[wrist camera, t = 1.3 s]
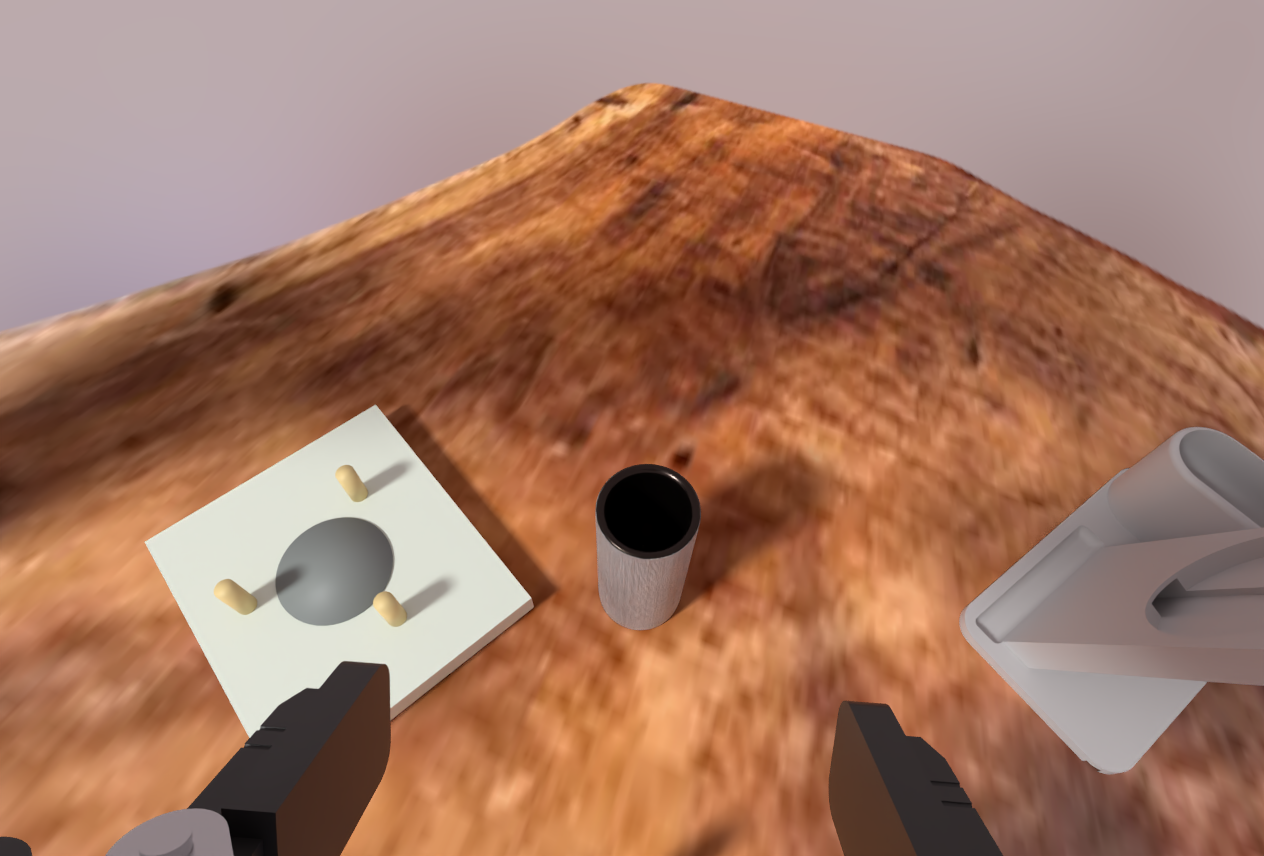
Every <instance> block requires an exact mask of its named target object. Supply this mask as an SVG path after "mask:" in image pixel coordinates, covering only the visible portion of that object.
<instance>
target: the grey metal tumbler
mask: <svg viewBox="0 0 1264 856" xmlns="http://www.w3.org/2000/svg"><path fill="white" fill-rule="evenodd" d="M700 519H701V507H700V502H699V499H698V496H697V494H696V492H695V490H694V489H693V487H692V486H691V484H690V483H689V482H688V481H687V480H686V479H685V478H684V477H683V476H681V475H680V474H679V473H677V472H675V471H673V470H671V469H669V468H667V467H664V466H660V465H654V464H640V465H634V466H631V467H627V468H625V469H623V470H621V471H619V472H617V473H616V474H615V475H613V476H612V477H611V478H610V479H609V480H608V481H607V482H606V483H605V484H604V486H603V487H602V489H601V491H600V493H599V495H598V498H597V502H596V538H597V563H598V587H599V595H600V600H601V603H602V606H603V608H604V610H605V611H606V613H607V614H608V615H609V616H610V618H611V619H612V620H614V621H615V622H616V623H618V624H619V625H621V626H623V627H626V628H629V629H633V630H648V629H652V628H655V627H657V626H659V625H661V624H663V623H664V622H666V621H667V620H668V619H669V618H670V617H671V616H672V614H673V613H674V612H675V610H676V608H677V606H678V604H679V601H680V598H681V594H682V590H683V586H684V583H685V579H686V575H687V571H688V567H689V563H690V560H691V556H692V552H693V548H694V544H695V540H696V537H697V533H698V529H699V525H700Z"/></svg>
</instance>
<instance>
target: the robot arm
mask: <svg viewBox="0 0 1264 856" xmlns="http://www.w3.org/2000/svg"><path fill="white" fill-rule="evenodd" d="M390 743H391V727H390V673H389V668H388V666H387V665H386V664H379V663H366V662H353V661H343V662H341V663H340V664H339V665H338V666H337V667H336V669H335V670H334V671H333V672H332V673H331V675H330V676H329V677H328V678H327V680H326V681H325V682H324V683H323V684H322V686H321V687H320V688H319V689H315V688H306V689H304V690H302V691H301V692H299V693H297V694H296V695H294V696H293V697H291V698H289V699H288V700H286V701H284V702H283V703H281V704H280V705H278V707H277V708H276V709H275V710H274V711H273V712H272V713H271V714H270V716H269V717H268V718H267V719H266V720H265V721H264V722H263V724H262V725H261V726H260V730H256V731H255V733H254V734H253V735H252V736H251V737H250V738H249V739H248V740H247V742H246V743H245V746H244V748H240V750H239V751H238V752H237V753H236V754H235V755H234V756H233V757H232V759H231V760H230V761H229V762H228V763H227V764H226V765H225V767H224V768H223V769H222V770H221V771H220V772H219V773H218V774H217V776H216V777H215V778H214V779H213V780H212V781H211V782H210V784H209V785H208V786H207V787H206V788H205V789H204V790H203V791H202V793H201V794H200V795H199V796H198V797H197V798H196V799H195V801H194V802H193V803H192V804H191V805H190V806H189V807H188V808H187V809H183V810H177V811H173V812H169V813H166V814H163V815H160V816H157V817H155V818H153V819H150V820H148V821H146V822H144V823H142V824H141V825H139V826H137V827H135V828H134V829H132V830H131V831H130V832H128V833H127V834H125V835H124V836H123V837H122V838H121V839H119V840H118V841H117V842H116V843H115V844H114V845H113V846H112V848H111V849H110V850H109V851H108V853H107V854H106V856H340V855H341V853H342V851H343V849H344V847H345V846H346V844H347V842H348V840H349V838H350V836H351V835H352V833H353V831H354V829H355V827H356V826H357V824H358V822H359V820H360V818H361V816H362V815H363V813H364V811H365V809H366V807H367V805H368V804H369V802H370V800H371V798H372V796H373V794H374V793H375V791H376V789H377V787H378V785H379V783H380V782H381V780H382V777H383V775H384V772H385V769H386V766H387V762H388V758H389V752H390ZM829 803H830V810H831V815H832V819H833V822H834V825H835V828H836V831H837V834H838V837H839V840H840V844H841V847H842V850H843V853H844V856H1003V855H1002V853H1001V851H1000V850H999V848H998V846H997V845H996V843H995V841H994V840H993V838H992V836H991V835H990V833H989V831H988V830H987V828H986V826H985V825H984V823H983V821H982V820H981V818H980V816H979V815H978V813H977V811H976V810H975V808H972V803H971V801H970V799H969V798H968V796H967V794H966V793H965V791H964V789H963V788H960V783H959V781H958V779H957V778H956V776H955V774H954V773H953V771H952V769H951V768H950V766H949V764H948V763H947V761H946V759H945V758H944V757H943V756H941V755H940V754H939V753H938V752H937V751H936V750H935V749H933V748H932V747H931V746H930V745H929V744H928V743H927V742H925V741H924V740H923V739H922V738H921V737H912V736H905V734H904V732H903V730H902V728H901V726H900V724H899V723H898V721H897V719H896V717H895V715H894V713H893V712H892V710H891V708H890V707H889V706H888V705H887V704H881V703H868V702H855V701H843V702H842V703H841V705H840V708H839V712H838V719H837V726H836V733H835V740H834V747H833V754H832V761H831V768H830V775H829ZM0 856H32V852H31V848H30V847H29V846H28V844H27V843H25V842H24V841H22V840H20V839H17V838H12V837H0Z"/></svg>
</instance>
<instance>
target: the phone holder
mask: <svg viewBox="0 0 1264 856" xmlns="http://www.w3.org/2000/svg"><path fill="white" fill-rule="evenodd" d="M959 623H960V629H961V632H962V634H963V636H964V637H965V639H966V640H967V641H968V643H969V644H970V645H971V646H972V647H973V648H974V649H975V650H976V651H977V652H978V653H979V654H980V655H981V656H982V657H983V658H984V659H985V660H986V661H987V662H988V663H989V664H990V665H991V667H992V668H993V669H994V670H995V671H996V672H997V673H998V674H999V675H1000V676H1001V677H1002V678H1003V679H1004V680H1005V681H1006V682H1007V683H1008V684H1009V685H1010V686H1011V687H1012V688H1013V689H1014V690H1015V691H1016V692H1017V693H1018V695H1019V696H1020V697H1021V698H1022V699H1023V700H1024V701H1025V702H1026V703H1027V704H1028V705H1029V706H1030V707H1031V708H1032V709H1033V710H1034V711H1035V712H1036V713H1037V714H1038V715H1039V716H1040V717H1041V718H1042V719H1043V720H1044V722H1045V723H1046V724H1047V725H1048V726H1049V727H1050V728H1051V729H1052V730H1053V731H1054V732H1055V733H1056V734H1057V735H1058V736H1059V737H1060V738H1061V739H1062V740H1063V741H1064V742H1065V743H1066V744H1067V745H1068V746H1069V747H1070V749H1071V750H1072V751H1073V752H1074V753H1075V754H1076V755H1077V756H1078V757H1079V758H1080V759H1081V760H1082V761H1085V760H1087V761H1088V762H1089V763H1090V764H1091V765H1092V766H1094V767H1095V768H1097V769H1099V770H1098V771H1097V772H1100V773H1104V774H1116V773H1121V772H1126V771H1128V770H1130V769H1131V768H1132V767H1133V766H1134V765H1135V764H1136V763H1137V762H1138V760H1139V759H1140V758H1141V757H1142V756H1143V755H1144V754H1145V752H1146V751H1147V750H1148V749H1149V748H1150V747H1151V746H1152V744H1153V743H1154V742H1155V741H1156V740H1157V739H1158V738H1159V736H1160V735H1161V734H1162V733H1163V732H1164V731H1165V730H1166V728H1167V727H1168V726H1169V725H1170V724H1171V723H1172V722H1173V720H1174V719H1175V718H1176V717H1177V716H1178V715H1179V714H1180V712H1181V711H1182V710H1183V709H1184V708H1185V707H1186V706H1187V704H1188V703H1189V702H1190V701H1191V700H1192V699H1193V698H1194V697H1195V695H1196V694H1197V693H1198V692H1199V691H1200V690H1201V689H1202V687H1203V686H1204V685H1205V684H1206V683H1207V682H1219V683H1232V684H1245V685H1259V686H1264V460H1263V459H1261V458H1260V457H1259V456H1257V455H1256V454H1254V453H1253V452H1252V451H1250V450H1249V449H1248V448H1246V447H1245V446H1244V445H1242V444H1241V443H1239V442H1238V441H1237V440H1235V439H1234V438H1232V437H1230V436H1228V435H1227V434H1225V433H1222V432H1220V431H1217V430H1214V429H1210V428H1204V427H1190V428H1185V429H1182V430H1180V431H1178V432H1177V433H1175V434H1174V435H1173V436H1171V437H1170V438H1169V439H1167V440H1166V441H1165V442H1163V443H1162V444H1161V445H1160V446H1158V447H1157V448H1156V449H1154V450H1153V451H1152V452H1150V453H1149V454H1148V455H1147V456H1145V457H1144V458H1143V459H1141V460H1140V461H1139V462H1137V463H1136V464H1135V465H1133V466H1132V467H1131V468H1127V469H1124V470H1122V471H1120V472H1119V473H1118V474H1116V475H1115V476H1114V477H1113V478H1112V479H1110V480H1109V481H1108V482H1107V483H1106V484H1105V485H1104V486H1102V487H1101V488H1100V489H1099V490H1098V491H1097V492H1096V493H1095V494H1093V495H1092V496H1091V497H1090V498H1089V499H1088V500H1087V501H1085V502H1084V503H1083V504H1082V505H1081V506H1080V507H1079V508H1078V509H1076V510H1075V511H1074V512H1073V513H1072V514H1071V515H1070V516H1068V517H1067V518H1066V519H1065V520H1064V521H1063V522H1062V523H1060V524H1059V525H1058V526H1057V527H1056V528H1055V529H1054V530H1053V531H1051V532H1050V533H1049V534H1048V535H1047V536H1046V537H1045V538H1043V539H1042V540H1041V541H1040V542H1039V543H1038V544H1037V545H1035V546H1034V547H1033V548H1032V549H1031V550H1030V551H1029V552H1028V553H1026V554H1025V555H1024V556H1023V557H1022V558H1021V559H1020V560H1018V561H1017V562H1016V563H1015V564H1014V565H1013V566H1012V567H1010V568H1009V569H1008V570H1007V571H1006V572H1005V573H1004V574H1003V575H1001V576H1000V577H999V578H998V579H997V580H996V581H995V582H993V583H992V584H991V585H990V586H989V587H988V588H987V589H985V590H984V591H983V592H982V593H981V594H980V595H979V596H978V597H976V598H975V599H974V600H973V601H972V602H971V603H970V604H968V605H967V606H966V607H965V608H964V609H963V611H962V612H961V615H960V620H959Z"/></svg>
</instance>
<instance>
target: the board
mask: <svg viewBox="0 0 1264 856" xmlns="http://www.w3.org/2000/svg"><path fill="white" fill-rule="evenodd" d="M145 543H146V545H147V547H148V549H149V551H150V553H151V555H152V556H153V558H154V560H155V562H156V564H157V566H158V568H159V570H160V571H161V573H162V575H163V577H164V579H165V581H166V583H167V585H168V586H169V588H170V590H171V592H172V594H173V596H174V598H175V599H176V601H177V603H178V605H179V607H180V609H181V611H182V613H183V614H184V616H185V618H186V620H187V622H188V624H189V626H190V628H191V629H192V631H193V633H194V635H195V637H196V639H197V641H198V642H199V644H200V646H201V648H202V650H203V652H204V654H205V656H206V657H207V659H208V661H209V663H210V665H211V667H212V669H213V671H214V672H215V674H216V676H217V678H218V680H219V682H220V684H221V685H222V687H223V689H224V691H225V693H226V695H227V697H228V699H229V700H230V702H231V704H232V706H233V708H234V710H235V712H236V714H237V715H238V717H239V719H240V721H241V723H242V725H243V727H244V728H245V730H246V732H247V734H248V736H249V738H250V737H251V736H252V735H253V734H254V733H255V731H256V730H260V726H261V725H262V724H263V722H264V721H265V720H266V719H267V718H268V717H269V716H270V714H271V713H272V712H273V711H274V710H275V709H276V708H277V707H278V705H280V704H281V703H283V702H284V701H286V700H288V699H289V698H291V697H293V696H294V695H296V694H297V693H299V692H301V691H302V690H304V689H306V688H315V689H319V688H320V687H321V686H322V684H323V683H324V682H325V681H326V680H327V678H328V677H329V676H330V675H331V673H332V672H333V671H334V670H335V669H336V667H337V666H338V665H339V664H340V663H341V662H343V661H353V662H366V663H379V664H386V665H387V666H388V668H389V673H390V721H391V720H392V719H393V718H394V717H396V716H397V715H398V714H399V713H401V712H402V711H403V710H404V709H406V708H407V707H408V706H410V705H411V704H412V703H413V702H415V701H416V700H417V699H418V698H420V697H421V696H422V695H423V694H425V693H426V692H427V691H429V690H430V689H431V688H432V687H434V686H435V685H436V684H437V683H439V682H440V681H441V680H442V679H444V678H445V677H446V676H448V675H449V674H450V673H451V672H453V671H454V670H455V669H456V668H458V667H459V666H460V665H461V664H463V663H464V662H465V661H467V660H468V659H469V658H470V657H472V656H473V655H474V654H475V653H477V652H478V651H479V650H480V649H482V648H483V647H484V646H486V645H487V644H488V643H489V642H491V641H492V640H493V639H494V638H496V637H497V636H498V635H499V634H501V633H502V632H503V631H505V630H506V629H507V628H508V627H510V626H511V625H512V624H513V623H515V622H516V621H517V620H518V619H520V618H521V617H522V616H524V615H525V614H526V613H527V612H529V611H530V610H531V609H532V608H534V605H533V602H532V598H531V597H530V596H529V594H528V593H527V592H526V591H525V589H524V588H523V587H522V586H521V584H520V583H519V582H518V581H517V579H516V578H515V577H514V576H513V575H512V573H511V572H510V571H509V570H508V568H507V567H506V566H505V565H504V563H503V562H502V561H501V560H500V558H499V557H498V556H497V555H496V553H495V552H494V551H493V550H492V548H491V547H490V546H489V545H488V543H487V542H486V541H485V540H484V539H483V537H482V536H481V535H480V534H479V532H478V531H477V530H476V529H475V527H474V526H473V525H472V524H471V522H470V521H469V520H468V519H467V517H466V516H465V515H464V514H463V512H462V511H461V510H460V509H459V507H458V506H457V505H456V504H455V502H454V501H453V500H452V499H451V498H450V496H449V495H448V494H447V493H446V491H445V490H444V489H443V488H442V486H441V485H440V484H439V483H438V481H437V480H436V479H435V478H434V476H433V475H432V474H431V473H430V471H429V470H428V469H427V468H426V466H425V465H424V464H423V463H422V461H421V460H420V459H419V458H418V457H417V455H416V454H415V453H414V452H413V450H412V449H411V448H410V447H409V445H408V444H407V443H406V442H405V440H404V439H403V438H402V437H401V435H400V434H399V433H398V432H397V430H396V429H395V428H394V427H393V425H392V424H391V423H390V422H389V420H388V419H387V418H386V417H385V416H384V414H383V413H382V412H381V411H380V409H379V408H378V407H377V406H376V405H374V406H373V407H371V408H369V409H367V410H366V411H364V412H362V413H361V414H359V415H357V416H356V417H354V418H352V419H351V420H349V421H347V422H346V423H344V424H342V425H341V426H339V427H337V428H336V429H334V430H332V431H330V432H329V433H327V434H325V435H324V436H322V437H320V438H319V439H317V440H315V441H314V442H312V443H310V444H309V445H307V446H305V447H304V448H302V449H300V450H298V451H297V452H295V453H293V454H292V455H290V456H288V457H287V458H285V459H283V460H282V461H280V462H278V463H277V464H275V465H273V466H272V467H270V468H268V469H266V470H265V471H263V472H261V473H260V474H258V475H256V476H255V477H253V478H251V479H250V480H248V481H246V482H245V483H243V484H241V485H240V486H238V487H236V488H235V489H233V490H231V491H229V492H228V493H226V494H224V495H223V496H221V497H219V498H218V499H216V500H214V501H213V502H211V503H209V504H208V505H206V506H204V507H203V508H201V509H199V510H197V511H196V512H194V513H192V514H191V515H189V516H187V517H186V518H184V519H182V520H181V521H179V522H177V523H176V524H174V525H172V526H171V527H169V528H167V529H166V530H164V531H162V532H160V533H159V534H157V535H155V536H154V537H152V538H150V539H149V540H147V541H145Z"/></svg>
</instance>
